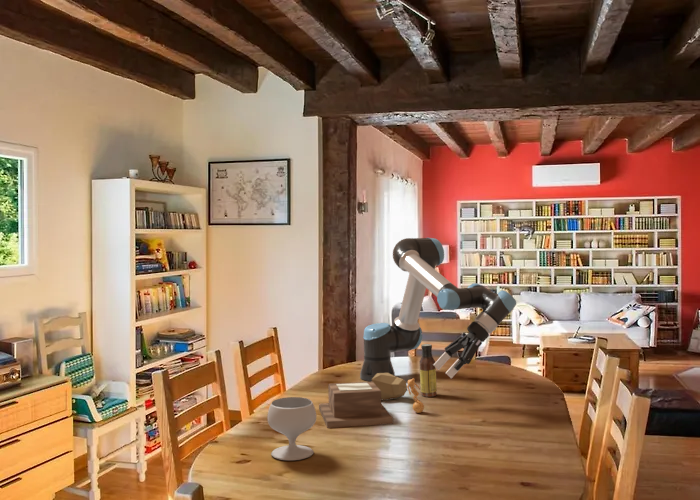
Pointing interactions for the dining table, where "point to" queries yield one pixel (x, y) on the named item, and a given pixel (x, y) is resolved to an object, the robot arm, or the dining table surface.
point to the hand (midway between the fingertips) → (441, 371)
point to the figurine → (418, 405)
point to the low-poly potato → (390, 385)
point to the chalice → (291, 425)
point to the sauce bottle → (427, 372)
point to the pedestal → (354, 405)
